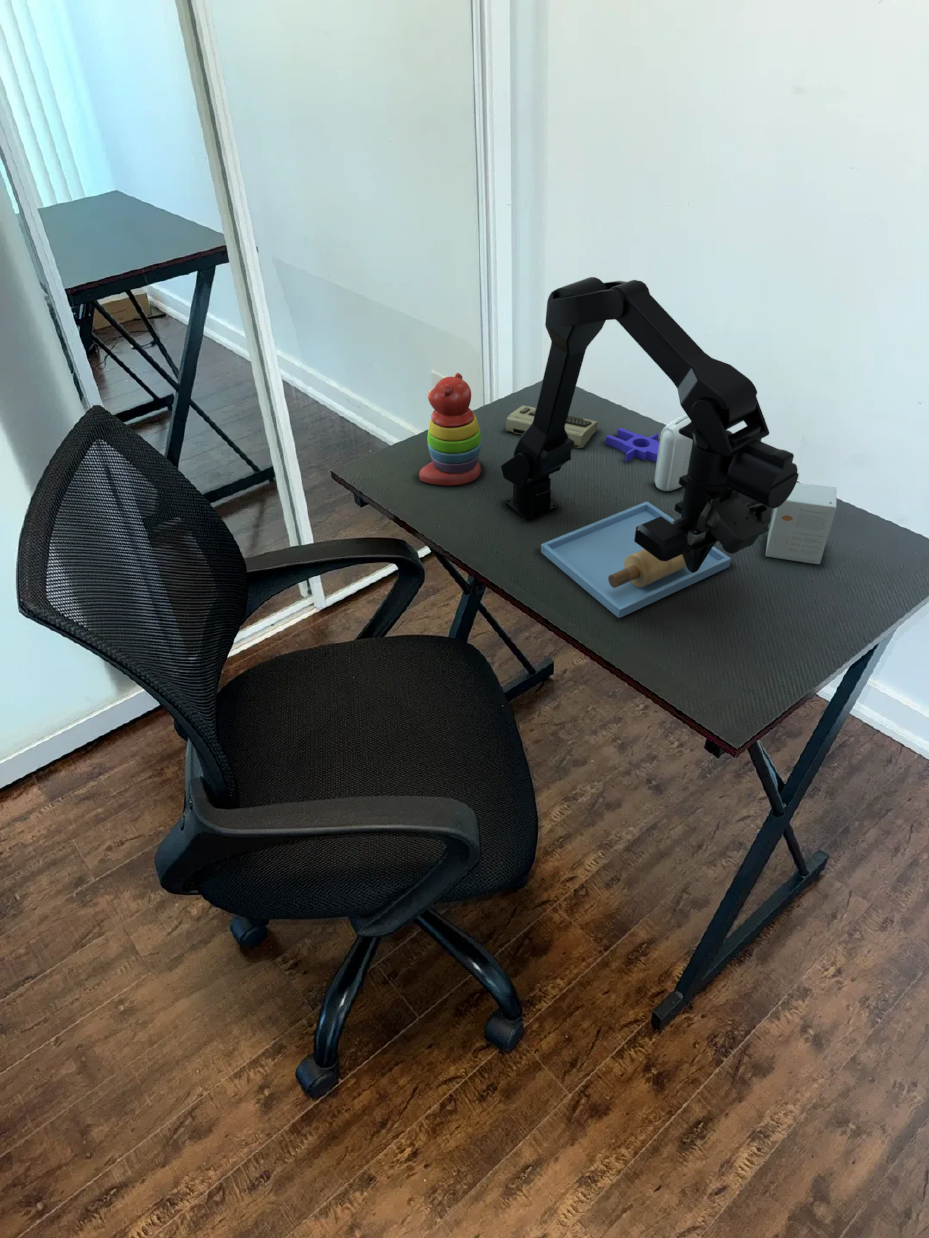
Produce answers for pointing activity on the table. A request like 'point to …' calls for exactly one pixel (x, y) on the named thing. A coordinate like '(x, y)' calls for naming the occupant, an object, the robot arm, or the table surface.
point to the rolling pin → (645, 569)
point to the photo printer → (672, 455)
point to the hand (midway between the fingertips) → (692, 570)
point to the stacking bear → (452, 435)
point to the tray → (620, 560)
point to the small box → (802, 524)
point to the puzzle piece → (635, 445)
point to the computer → (574, 426)
